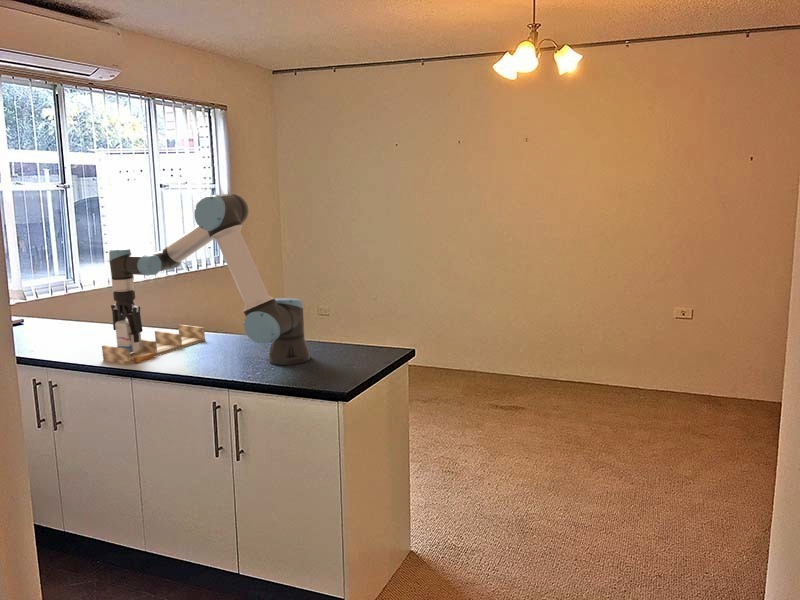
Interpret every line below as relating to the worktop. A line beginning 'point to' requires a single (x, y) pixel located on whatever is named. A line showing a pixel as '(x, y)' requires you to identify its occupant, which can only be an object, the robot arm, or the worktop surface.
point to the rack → (155, 345)
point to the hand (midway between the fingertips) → (129, 349)
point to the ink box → (125, 335)
